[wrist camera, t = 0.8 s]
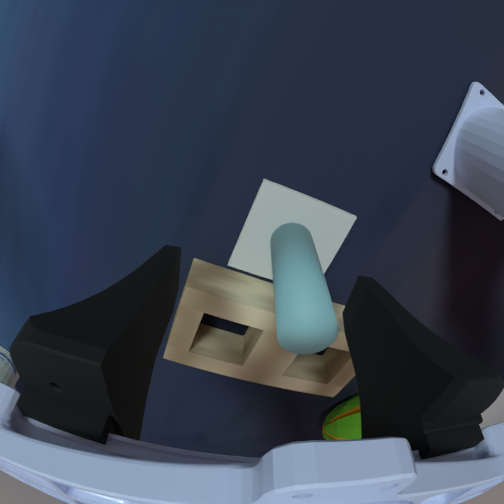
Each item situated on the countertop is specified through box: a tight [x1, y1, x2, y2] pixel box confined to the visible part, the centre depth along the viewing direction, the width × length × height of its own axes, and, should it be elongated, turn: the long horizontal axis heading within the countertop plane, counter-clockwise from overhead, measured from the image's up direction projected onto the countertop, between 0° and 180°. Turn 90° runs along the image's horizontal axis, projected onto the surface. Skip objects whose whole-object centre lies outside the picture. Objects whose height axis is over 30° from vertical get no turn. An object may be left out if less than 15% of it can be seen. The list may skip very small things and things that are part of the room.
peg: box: [270, 223, 339, 355], centre depth 19 cm, size 3×3×9 cm
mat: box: [228, 179, 357, 280], centre depth 23 cm, size 7×7×1 cm
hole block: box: [163, 258, 356, 397], centre depth 26 cm, size 16×8×4 cm, turn 69°
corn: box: [322, 394, 361, 440], centre depth 31 cm, size 7×8×20 cm
